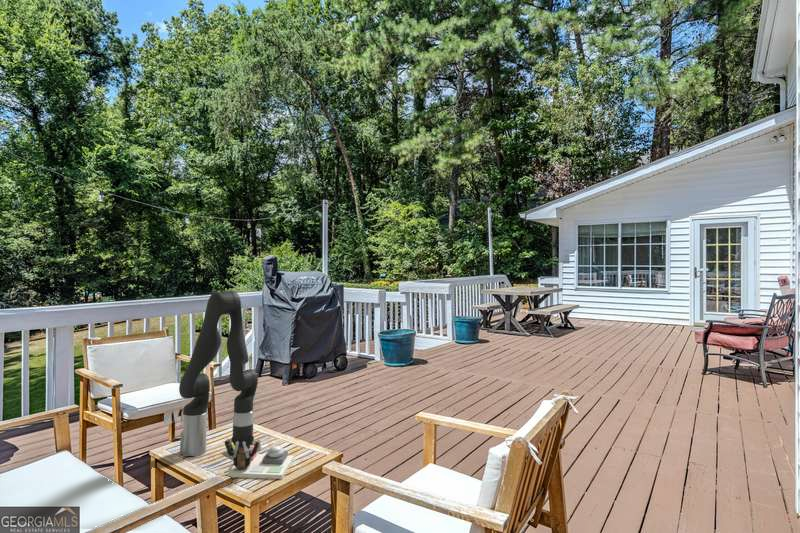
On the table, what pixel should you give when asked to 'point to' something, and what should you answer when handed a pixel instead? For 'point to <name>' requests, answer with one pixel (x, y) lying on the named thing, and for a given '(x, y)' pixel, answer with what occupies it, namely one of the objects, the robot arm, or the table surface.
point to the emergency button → (234, 448)
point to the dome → (275, 451)
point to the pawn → (241, 459)
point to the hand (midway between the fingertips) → (242, 466)
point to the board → (264, 467)
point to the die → (251, 451)
